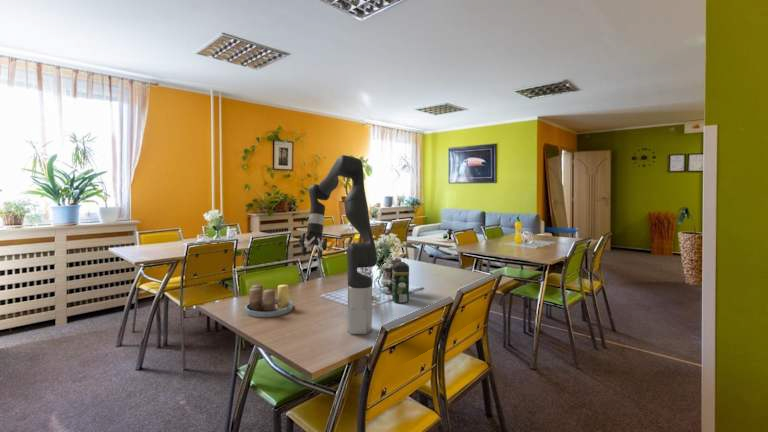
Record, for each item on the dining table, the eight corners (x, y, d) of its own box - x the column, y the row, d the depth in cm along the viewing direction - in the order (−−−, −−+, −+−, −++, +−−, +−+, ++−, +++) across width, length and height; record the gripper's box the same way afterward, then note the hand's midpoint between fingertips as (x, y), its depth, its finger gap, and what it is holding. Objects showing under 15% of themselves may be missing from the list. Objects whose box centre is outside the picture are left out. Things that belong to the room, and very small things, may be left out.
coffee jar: (391, 297, 182) (391, 260, 181) (407, 297, 182) (407, 260, 181) (392, 303, 172) (393, 264, 171) (409, 303, 173) (410, 264, 171)
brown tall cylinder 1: (260, 309, 161) (260, 287, 161) (250, 309, 162) (249, 287, 161) (264, 306, 166) (263, 284, 165) (254, 306, 166) (253, 284, 165)
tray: (284, 317, 152) (284, 313, 152) (236, 316, 152) (236, 311, 152) (297, 302, 172) (297, 298, 172) (255, 301, 172) (255, 297, 172)
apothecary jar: (403, 289, 197) (404, 256, 196) (404, 296, 185) (404, 260, 184) (381, 289, 198) (381, 255, 196) (380, 295, 186) (380, 260, 184)
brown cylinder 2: (272, 315, 154) (272, 292, 153) (262, 315, 154) (261, 291, 153) (276, 312, 159) (276, 289, 158) (265, 311, 159) (265, 289, 158)
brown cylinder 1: (258, 313, 156) (258, 290, 155) (247, 313, 156) (247, 290, 155) (262, 310, 161) (262, 287, 160) (252, 310, 161) (251, 287, 160)
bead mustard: (286, 309, 162) (286, 287, 161) (276, 309, 162) (276, 287, 161) (289, 306, 166) (289, 284, 166) (279, 306, 166) (279, 284, 166)
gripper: (307, 219, 172) (302, 254, 168) (332, 226, 182) (328, 259, 177) (299, 221, 178) (294, 255, 173) (323, 228, 187) (319, 260, 183)
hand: (311, 257), depth 175 cm, fingers open, 8 cm apart
